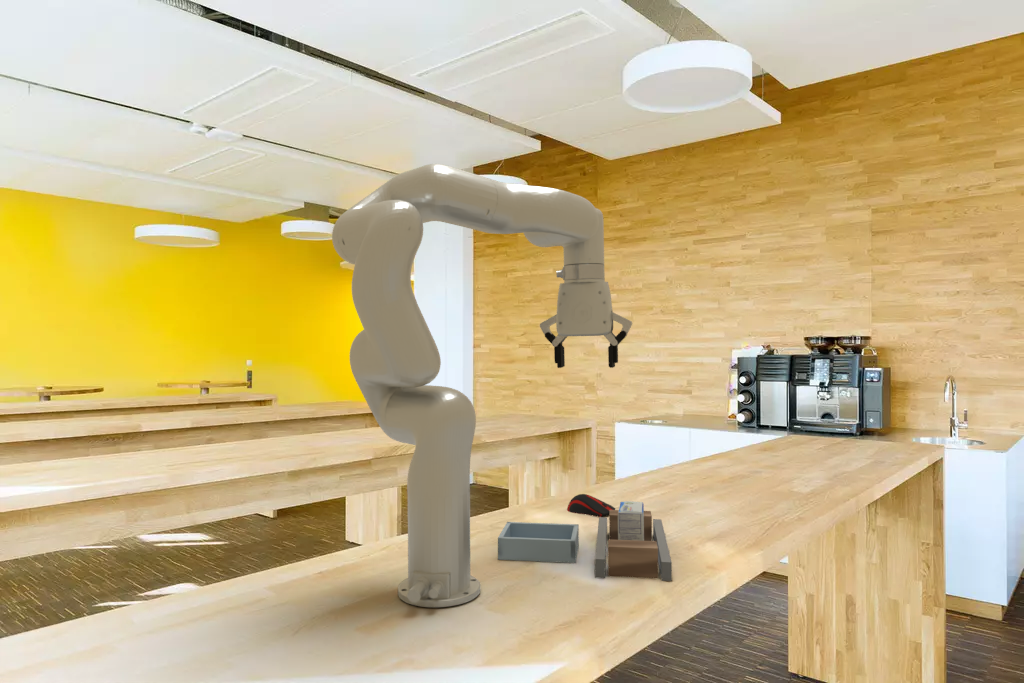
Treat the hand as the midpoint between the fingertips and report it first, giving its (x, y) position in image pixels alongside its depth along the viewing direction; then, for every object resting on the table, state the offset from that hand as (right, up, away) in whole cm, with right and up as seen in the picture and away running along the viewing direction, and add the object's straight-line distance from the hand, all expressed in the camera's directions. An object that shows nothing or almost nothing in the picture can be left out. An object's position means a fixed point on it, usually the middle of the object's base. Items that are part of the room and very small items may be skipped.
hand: (586, 367), depth 128 cm
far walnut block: (+9, -34, +5) cm, 35 cm away
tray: (-9, -34, -3) cm, 35 cm away
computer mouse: (+4, -34, +25) cm, 43 cm away
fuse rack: (+8, -33, -5) cm, 35 cm away
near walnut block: (+6, -34, -14) cm, 37 cm away
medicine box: (+8, -34, -5) cm, 35 cm away
